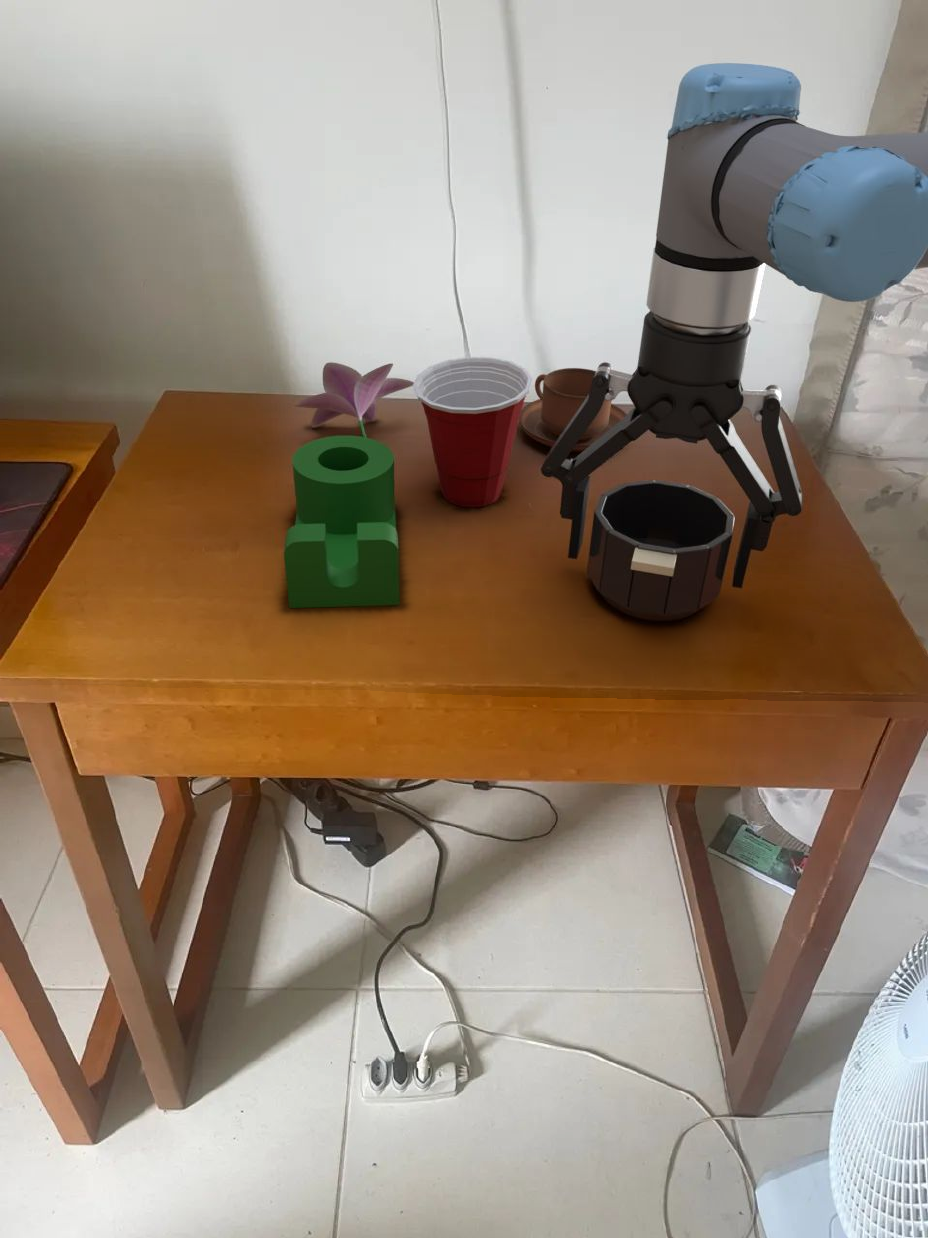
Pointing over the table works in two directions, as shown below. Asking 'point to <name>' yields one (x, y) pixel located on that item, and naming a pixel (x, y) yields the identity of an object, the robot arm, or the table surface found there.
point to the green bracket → (343, 525)
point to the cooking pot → (659, 546)
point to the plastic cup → (472, 423)
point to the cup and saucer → (565, 408)
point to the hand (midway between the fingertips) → (655, 564)
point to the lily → (352, 393)
